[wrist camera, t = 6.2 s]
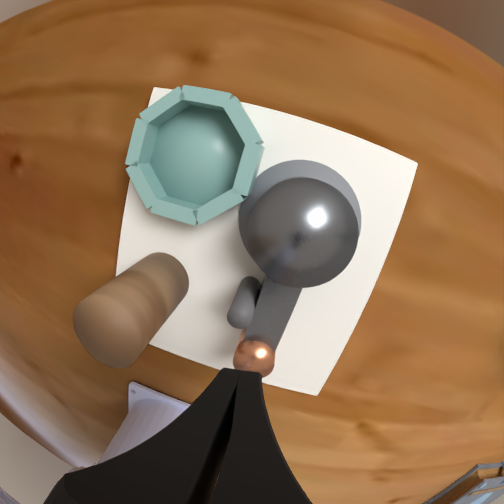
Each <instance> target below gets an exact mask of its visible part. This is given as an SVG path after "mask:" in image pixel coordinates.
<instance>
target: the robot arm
mask: <svg viewBox="0 0 504 504" xmlns="http://www.w3.org/2000/svg"><path fill="white" fill-rule="evenodd" d="M128 409H129V413H128V415H127V416H126V418H125V420H124V421H123V423H122V424H121V426H120V428H119V429H118V431H117V432H116V434H115V436H114V437H113V439H112V441H111V442H110V444H109V445H108V447H107V449H106V450H105V452H104V453H103V455H102V457H101V458H100V460H99V462H98V463H97V464H96V463H94V465H93V466H90V467H87V468H85V467H80V468H72V469H71V470H70V471H69V472H68V473H66V474H65V475H64V476H63V477H62V478H61V479H60V480H59V481H58V482H57V484H56V485H55V486H54V488H53V489H52V491H51V493H50V494H49V496H48V497H47V499H46V500H45V502H44V504H312V502H311V501H310V500H309V498H308V497H307V495H306V494H305V492H304V491H303V489H302V488H301V486H300V485H299V483H298V481H297V480H296V478H295V477H294V475H293V473H292V471H291V470H290V468H289V466H288V464H287V462H286V460H285V458H284V456H283V454H282V452H281V449H280V447H279V445H278V442H277V440H276V437H275V435H274V432H273V429H272V426H271V423H270V420H269V416H268V413H267V409H266V405H265V401H264V395H263V388H262V375H261V374H260V372H252V371H244V370H242V371H241V370H237V369H231V368H222V369H221V370H220V371H219V373H218V374H217V376H216V377H215V378H214V380H213V381H212V382H211V383H210V385H209V386H208V387H207V388H206V389H205V390H204V392H203V393H202V394H201V395H200V396H199V397H198V398H197V399H196V400H195V401H194V402H193V403H192V404H188V403H185V402H183V401H180V400H177V399H175V398H172V397H169V396H167V395H164V394H162V393H159V392H157V391H154V390H152V389H150V388H147V387H145V386H143V385H140V384H138V383H136V382H130V384H129V391H128ZM219 473H220V474H219ZM218 476H219V477H218ZM217 479H218V480H217ZM216 482H217V483H216ZM0 504H20V503H19V502H17V501H16V500H15V499H14V498H12V497H11V496H10V495H9V494H8V493H6V492H5V491H4V490H3V489H2V488H1V487H0Z"/></svg>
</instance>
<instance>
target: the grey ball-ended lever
mask: <svg viewBox="0 0 504 504" xmlns="http://www.w3.org/2000/svg"><path fill="white" fill-rule="evenodd" d="M358 236H359V229H358V222H357V217H356V215H355V212H354V210H353V208H352V206H351V204H350V203H349V201H348V200H347V198H346V197H345V196H344V195H343V194H342V193H341V192H340V191H339V190H337V189H336V188H335V187H333V186H331V185H330V184H328V183H325V182H323V181H320V180H317V179H314V178H311V177H304V176H297V177H290V178H287V179H284V180H281V181H279V182H278V183H276V184H274V185H273V186H272V187H270V188H269V189H268V190H267V191H266V192H265V193H264V194H263V195H262V196H261V197H260V198H259V200H258V201H257V202H256V204H255V206H254V207H253V209H252V211H251V214H250V216H249V220H248V226H247V241H248V246H249V249H250V252H251V255H252V257H253V259H254V261H255V262H256V264H257V265H258V266H259V268H260V269H261V270H262V271H263V272H264V273H265V277H264V280H263V282H262V285H261V288H260V291H259V294H258V298H257V302H256V306H255V310H254V314H253V318H252V322H251V324H250V325H249V326H248V327H247V328H244V329H242V331H241V334H240V337H239V341H238V344H237V347H236V351H235V354H234V357H233V366H234V368H235V369H237V370H241V371H242V370H244V371H252V372H260V374H261V375H262V378H264V377H266V376H268V375H269V374H270V373H271V372H272V371H273V369H274V363H275V353H276V349H277V346H278V344H279V342H280V340H281V337H282V335H283V333H284V331H285V328H286V326H287V324H288V322H289V319H290V317H291V315H292V312H293V310H294V308H295V305H296V303H297V301H298V298H299V296H300V293H301V291H302V289H303V288H308V287H315V286H319V285H322V284H324V283H327V282H329V281H330V280H332V279H334V278H335V277H337V276H338V275H339V274H340V273H341V272H342V271H343V270H344V269H345V268H346V267H347V266H348V264H349V263H350V261H351V260H352V258H353V256H354V254H355V251H356V248H357V244H358Z"/></svg>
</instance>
